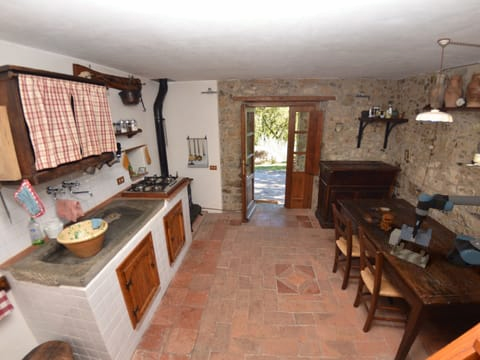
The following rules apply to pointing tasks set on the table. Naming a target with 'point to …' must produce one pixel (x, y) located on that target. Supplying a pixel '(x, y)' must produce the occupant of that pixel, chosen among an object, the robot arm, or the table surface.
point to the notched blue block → (421, 236)
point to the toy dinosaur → (386, 222)
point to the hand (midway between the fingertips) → (413, 239)
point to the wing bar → (395, 237)
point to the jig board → (410, 255)
